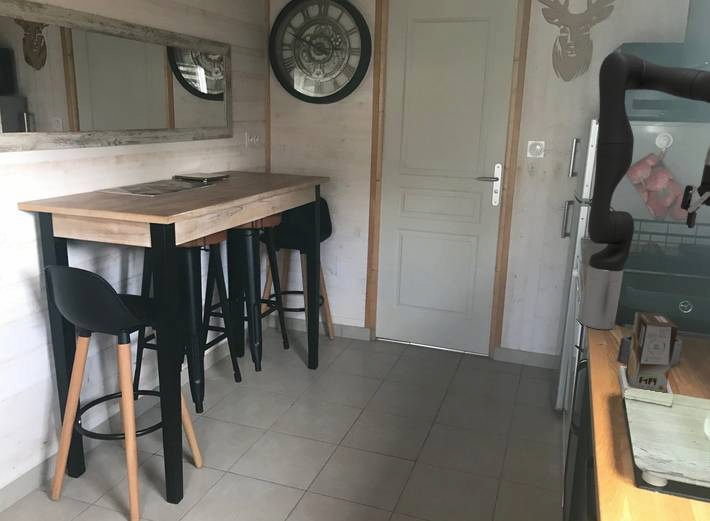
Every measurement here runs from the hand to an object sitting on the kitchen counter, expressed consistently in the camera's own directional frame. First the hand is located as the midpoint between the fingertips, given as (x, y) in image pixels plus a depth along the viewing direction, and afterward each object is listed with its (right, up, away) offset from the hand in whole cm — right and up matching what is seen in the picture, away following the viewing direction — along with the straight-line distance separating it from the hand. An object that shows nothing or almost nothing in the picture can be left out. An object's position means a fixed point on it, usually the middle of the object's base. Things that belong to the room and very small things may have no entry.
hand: (709, 231), depth 148 cm
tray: (-22, -36, -14) cm, 44 cm away
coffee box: (-22, -35, -13) cm, 44 cm away
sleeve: (-14, -32, +2) cm, 35 cm away
